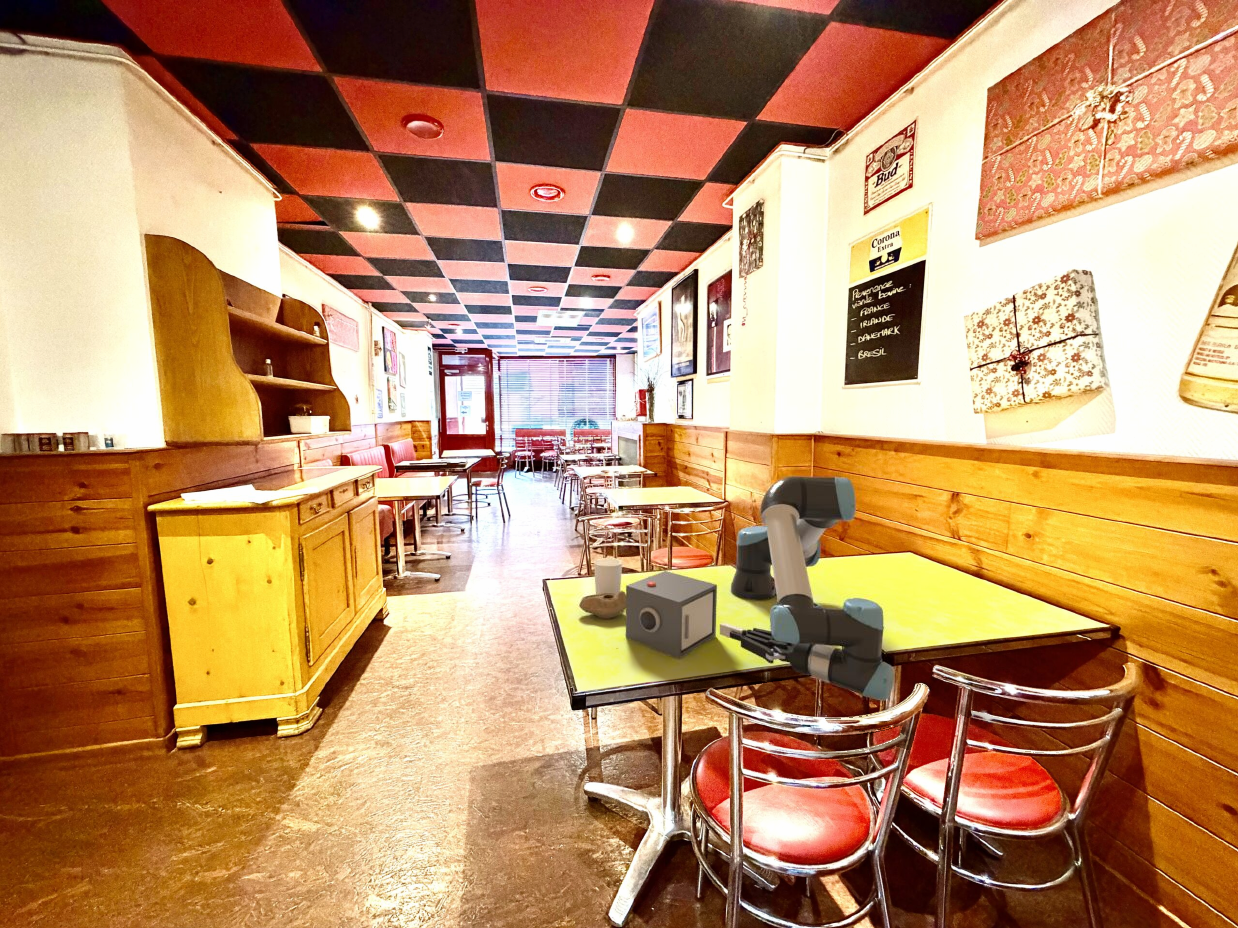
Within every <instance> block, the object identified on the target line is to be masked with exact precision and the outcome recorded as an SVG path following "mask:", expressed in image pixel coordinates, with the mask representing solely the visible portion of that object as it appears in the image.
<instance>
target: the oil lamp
mask: <svg viewBox="0 0 1238 928" xmlns="http://www.w3.org/2000/svg"><path fill="white" fill-rule="evenodd" d="M578 606H579V608H580V609H581V610H582V611H584V612H585V613H588V614H591V615H595V616H597V617H598V618H600V619H605V620H607V619H609V620H610V619H613V618H616V617H618V615H620V614H622V613H623V612H624V611H626V591H624V590H620V592H619V594H618V595H617V594H614V593H602V594H596V593H595V594H589V595H586V596H584V597H582V598H581V600H580V602H579V605H578Z"/></svg>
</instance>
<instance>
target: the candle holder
mask: <svg viewBox="0 0 1238 928" xmlns="http://www.w3.org/2000/svg"><path fill="white" fill-rule="evenodd" d="M593 567H594V581H595V583H594V584H595V586H594V587H595V594H602V593H614V594H617V595H618V594H619V592H620V591H621V589H622V587H621V586H622V570H623V560H621V559H618V558H615V557H603V558H598V559H596V560H594V561H593Z"/></svg>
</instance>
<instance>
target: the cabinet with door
mask: <svg viewBox="0 0 1238 928" xmlns="http://www.w3.org/2000/svg"><path fill="white" fill-rule="evenodd" d="M717 590H718V585H717V584H716V583H712V582H709V581H705V580H702V579H697V578H694V577H689V576H685V575H683V574H682V575H681V574H678V573H674V572H671V571H666V570H664V571H661V572H659V573H656V574H654V575H650V576H648V577H646V578H643V579H640V580H637V581H634V582H632V583H629V584H627V585H626V586H625V593H626V608H625V638H626V639H628V640H630V641H633V642H635V643H638V644H640V645H643V646H646V647H648V648H650V649H653V650H656V651H657V652H660V653H662V654H665V655H667V656H669V657H672V658H675V659H676V660H680V659H681V658H683V657H685V656H686V655H688V654H690V653H691V652H692V651H695V650H696V649H698V648H700V647H701V646H702V645H704V644H705V643H707V642H709V641H711V640H712V639H714V638H716V637H717V636H716V635H717V633H716V632H717V599H718V596H717V593H718V591H717ZM710 591H713V613H712V633H710V634H708V635H707V636H705V637H703V638H702V639H700V640H698V641H697V642H695V643H693V644H692V645H690V646H688V647H687V648H685V649H683V650H681V613H682V605H683V604H685V603H687V602H689V601H691V600H693V599H696V598H698V597H700V596H702V595H704V594H706V593H708V592H710Z"/></svg>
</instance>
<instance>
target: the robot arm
mask: <svg viewBox="0 0 1238 928" xmlns="http://www.w3.org/2000/svg"><path fill="white" fill-rule="evenodd" d="M856 507H857V506H856V493H855V488H854V485H853V483H852V480H850V478H847V477H839V476H835V477H829V476H827V477H826V476H824V477H823V476H797V475H793V476H792V475H791V476H786V477H784V478H781V479H779V480H778V481H776V482H774V483H773V484H772V485H771V486H770V488H768V490H767V491H766V493H765V494H764V496H763V498H762V501H761V503H760V510H759V513H760V519H761V522H762V525H757V526H756V525H755V526H748V527H744V528H742V529H740V530H739V531H738V533H737V540H736V545H737V546H736V547H737V548H736V570H735V574H734V575H733V579H732V580H731V581H732V582H731V585H730V592H731V593H732V594H733V595H734V596H736V597H739V598H742V599H745V600H752V601H767V600H772V599H773V598H774V597H775V596H776V599H777V600H778V605H777V604H775V605H773V606H772V607H771V608H770V612H769V613H770V615H769V624H770V625H769V626H770V630H766V629H762V628H757V627H753V628H752V629H744V628H741V627H738V626H735V625H732V624H730V623H726V622H721V623H720V624H719V635H721V636H723V637H726V638H730V639H732V640H736V641H738V642H740V648H742V649H743V650H746V651H747V652H749V653H752V654H754V655H756V656H758V657H760V658H762V659H763V660H765V661H766V662H767V663H768V664H771V665H772V664H774V662H775V661H774V660H776V661H777V660H779V661H780V662H784V663H789V664H790V666H791V668H792V670H793V671H795V672H797V673H800V674H803V675H806V676H810V675H811V677H812V678H815V679H818V680H820V681H823V682H824V683H826V684H828V683H829V684H832V685H834V686H836V687H840V688H841V689H842V688H843V689H846V690H848V691H850V692H854V693H857V694H859V695H861V696H862V697H867V698H870V699H874V700H878V701H881V702H883V701H886V700H889V697H890V696H891V693H892V690H893V685H894V678H895V676H894V675H895V674H894V668H893V667H892V665H891V664H889V663H887V662H885V661H883V657H882V652H883V651H882V649H883V636H884V629H885V626H884V611H883V608H882V606H881V605H879V604H878V603H877V602H875V601H873V600H869V599H865V598H861V597H860V598H859V597H853V598H847V599H846V600H844V602H843V605H842V608H829V607H821V608H816V607H815V606H814V603H815V601H814V598H813V593H812V588H811V584H810V579H809V575H808V571H807V570H808V569H807V568H808V567H814V566H816V565H817V564H818V562H819V560H820V556H821V551H822V550H821V541H820V537H821V536H822V535H823V534H824V532H825V531H826V529H831V528H832V527H834V526H835V525H837V524H838V523H839V521H843V522H849V521H853V519H854V518H855V516H856V515H855V514H856ZM771 566H772V567H771ZM771 568H772V573H773V577H772V573H771ZM773 580H774V581H773ZM777 600H776V601H777ZM838 647H841V648H838Z"/></svg>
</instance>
